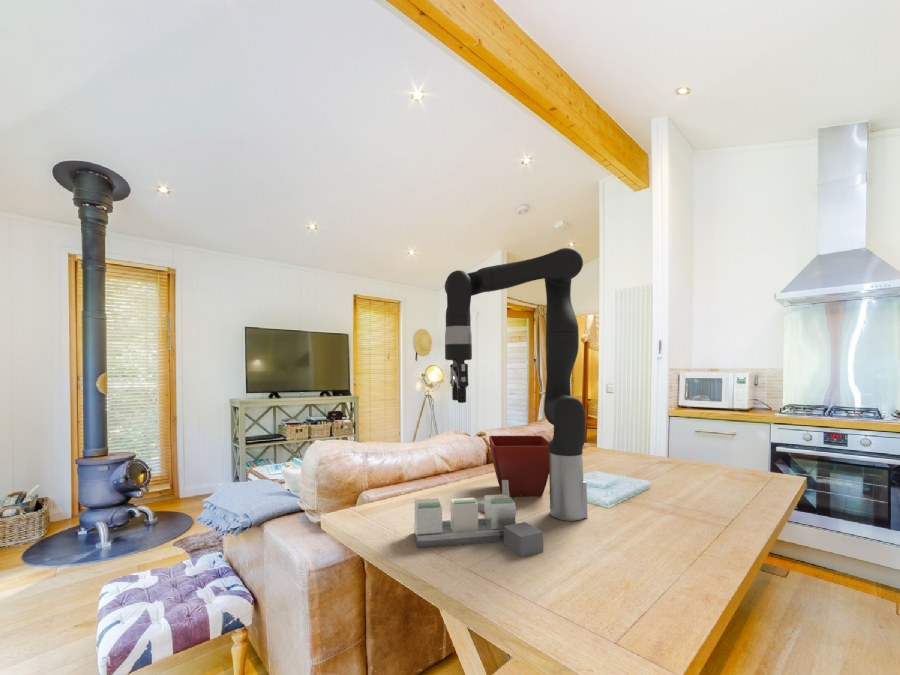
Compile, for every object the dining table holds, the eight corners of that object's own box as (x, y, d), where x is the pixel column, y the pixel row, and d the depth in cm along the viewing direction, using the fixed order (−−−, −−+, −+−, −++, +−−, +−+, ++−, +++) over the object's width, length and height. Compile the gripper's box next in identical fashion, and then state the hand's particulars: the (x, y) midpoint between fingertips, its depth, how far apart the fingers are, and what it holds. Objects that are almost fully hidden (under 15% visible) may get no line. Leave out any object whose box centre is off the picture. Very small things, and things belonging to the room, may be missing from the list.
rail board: (506, 526, 110) (505, 490, 111) (517, 540, 101) (516, 501, 102) (414, 532, 106) (414, 496, 107) (417, 548, 98) (417, 507, 98)
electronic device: (481, 472, 130) (518, 480, 118) (482, 505, 129) (520, 516, 118) (468, 475, 126) (505, 484, 115) (469, 509, 126) (507, 521, 114)
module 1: (474, 525, 107) (473, 496, 107) (478, 532, 102) (477, 501, 103) (450, 527, 106) (450, 497, 106) (453, 534, 101) (453, 503, 102)
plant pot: (555, 500, 131) (554, 445, 132) (494, 500, 131) (493, 445, 132) (543, 483, 150) (541, 435, 151) (489, 483, 150) (488, 435, 151)
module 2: (525, 541, 101) (524, 521, 102) (543, 552, 95) (542, 532, 95) (503, 545, 99) (503, 526, 99) (521, 558, 93) (520, 536, 93)
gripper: (477, 341, 112) (477, 403, 111) (466, 344, 126) (467, 399, 125) (449, 341, 110) (449, 404, 109) (441, 344, 124) (441, 399, 123)
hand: (459, 401), depth 117 cm, fingers open, 8 cm apart
